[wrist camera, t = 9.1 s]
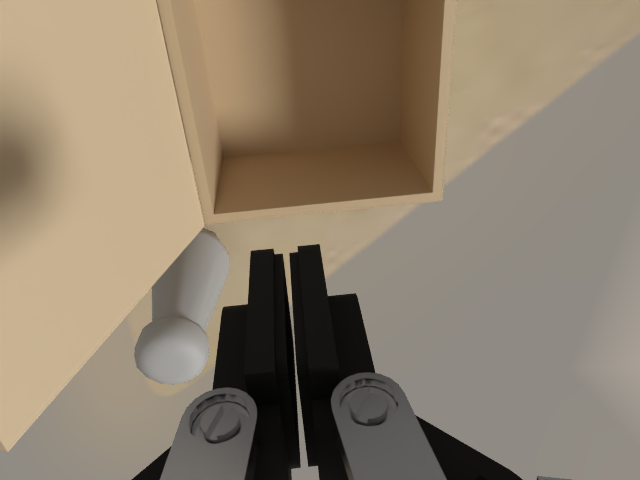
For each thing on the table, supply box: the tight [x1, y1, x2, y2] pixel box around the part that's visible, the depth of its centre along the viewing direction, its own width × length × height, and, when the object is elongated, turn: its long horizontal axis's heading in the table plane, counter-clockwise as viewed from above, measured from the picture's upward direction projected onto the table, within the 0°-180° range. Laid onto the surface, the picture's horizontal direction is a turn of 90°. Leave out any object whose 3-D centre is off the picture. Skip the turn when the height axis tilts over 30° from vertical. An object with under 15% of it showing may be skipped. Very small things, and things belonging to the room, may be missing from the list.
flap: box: [0, 0, 204, 452], centre depth 20 cm, size 15×13×1 cm
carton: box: [157, 0, 457, 224], centre depth 30 cm, size 14×13×9 cm
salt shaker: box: [135, 229, 230, 385], centre depth 35 cm, size 6×6×13 cm
